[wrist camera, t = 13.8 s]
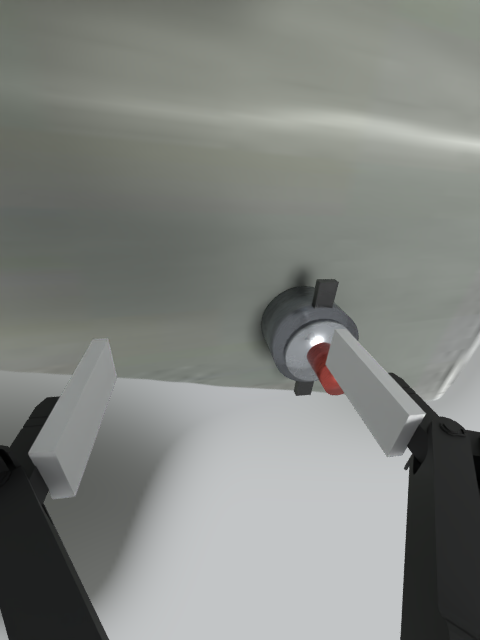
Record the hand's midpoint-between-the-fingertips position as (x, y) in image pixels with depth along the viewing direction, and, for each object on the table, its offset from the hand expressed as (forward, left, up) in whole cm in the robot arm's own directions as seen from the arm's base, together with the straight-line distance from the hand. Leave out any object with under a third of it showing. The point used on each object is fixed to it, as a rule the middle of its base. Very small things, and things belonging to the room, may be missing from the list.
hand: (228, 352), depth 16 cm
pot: (+15, +17, -29) cm, 37 cm away
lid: (+15, +17, -20) cm, 30 cm away
